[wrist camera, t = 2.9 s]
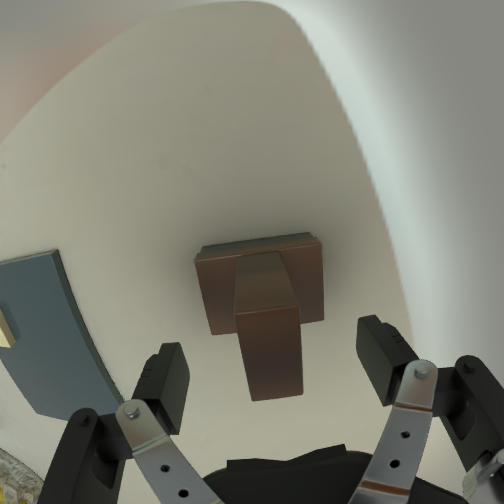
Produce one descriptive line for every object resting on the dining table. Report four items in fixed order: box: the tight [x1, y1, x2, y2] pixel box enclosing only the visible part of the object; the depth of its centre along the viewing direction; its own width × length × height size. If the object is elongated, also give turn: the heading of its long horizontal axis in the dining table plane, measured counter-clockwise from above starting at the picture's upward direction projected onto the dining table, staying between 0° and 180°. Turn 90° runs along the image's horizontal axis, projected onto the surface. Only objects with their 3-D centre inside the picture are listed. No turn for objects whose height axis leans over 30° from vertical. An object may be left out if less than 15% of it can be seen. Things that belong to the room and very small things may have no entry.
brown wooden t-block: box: [194, 232, 324, 401], centre depth 15 cm, size 5×7×9 cm
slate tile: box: [0, 250, 124, 421], centre depth 21 cm, size 20×16×1 cm
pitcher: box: [0, 487, 28, 504], centre depth 34 cm, size 17×19×25 cm
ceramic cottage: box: [0, 449, 44, 504], centre depth 30 cm, size 16×16×15 cm
